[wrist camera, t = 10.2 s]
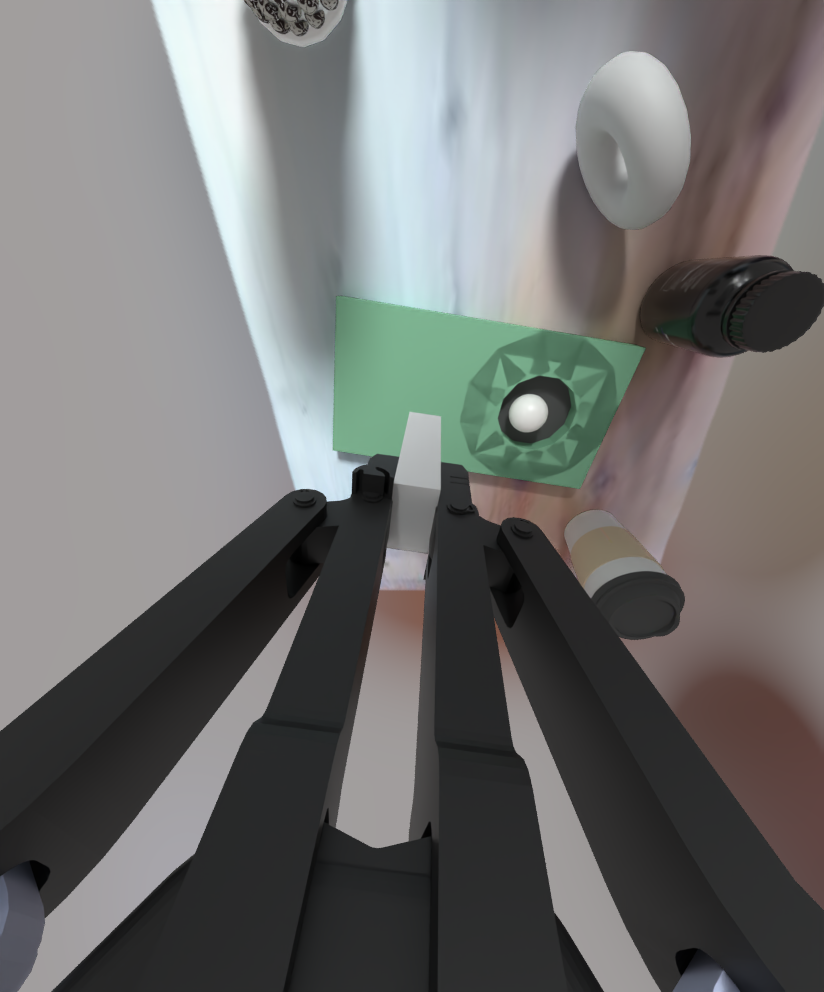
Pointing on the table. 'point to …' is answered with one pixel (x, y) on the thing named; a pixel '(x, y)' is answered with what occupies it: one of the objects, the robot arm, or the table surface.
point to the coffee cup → (622, 577)
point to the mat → (475, 389)
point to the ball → (528, 413)
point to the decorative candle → (299, 18)
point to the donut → (633, 140)
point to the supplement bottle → (731, 305)
